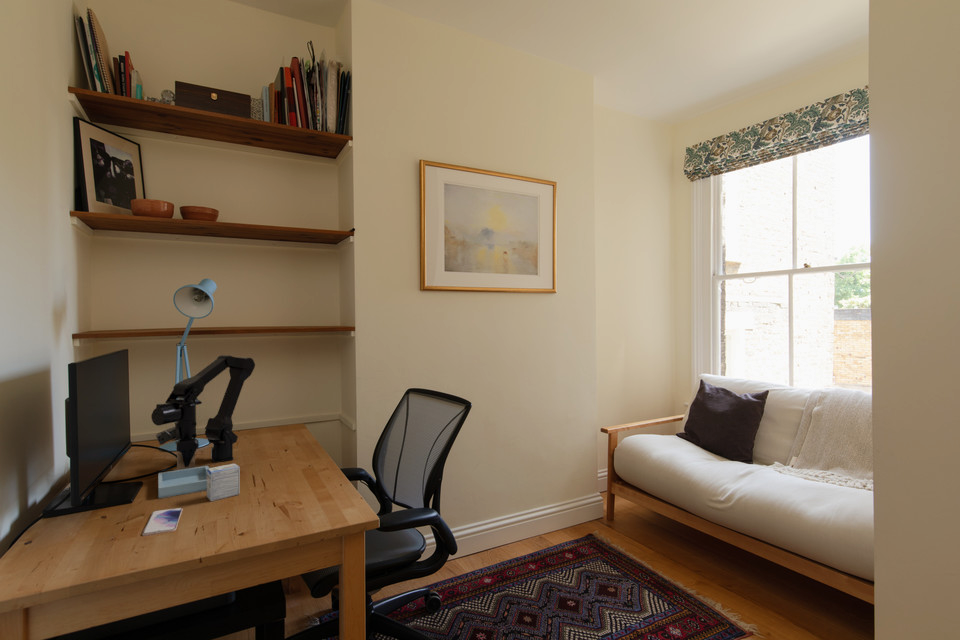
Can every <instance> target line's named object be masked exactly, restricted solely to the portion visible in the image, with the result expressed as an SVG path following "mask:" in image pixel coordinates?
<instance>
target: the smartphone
mask: <svg viewBox="0 0 960 640" xmlns="http://www.w3.org/2000/svg"><path fill="white" fill-rule="evenodd" d="M183 510H184V509H183V507H177V508H168V509H167V508H166V509H160V510H153V512H151V515H150V517H149V519H148V521H147V523H146V525H145V527H144V528H143V531H142V536H143V537H146V536H153V535H160V534H164V533H172V532H174V531H176V530H177V528H178V525H179V522H180V518H181V516H182V513H183Z"/></svg>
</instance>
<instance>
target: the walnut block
mask: <svg viewBox="0 0 960 640" xmlns="http://www.w3.org/2000/svg"><path fill="white" fill-rule="evenodd" d="M176 454H177V455H176V456H177V457H176V458H177V459H176V468H177V469H176V470H182V469H189V468H196V452H195V453H194V455H193V458H192V460H191V462H190V464H189V466H188V467H185V466H184V461H183V457H182V453H181V452H179V451H177V450H176Z"/></svg>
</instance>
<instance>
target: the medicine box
mask: <svg viewBox="0 0 960 640" xmlns="http://www.w3.org/2000/svg"><path fill="white" fill-rule="evenodd" d="M240 469H241V468H240V466H239V465H238V464H236V463H230V464H225V465H219V466H215V467H209V469H207V490H206V498H207V499H208V500H209V501H210V502H213V501H218V500H222V499H225V498H230V497H234V496H238V495H240V490H241V489H240V477H241V475H240V474H241V473H240Z"/></svg>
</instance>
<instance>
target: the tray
mask: <svg viewBox="0 0 960 640" xmlns="http://www.w3.org/2000/svg"><path fill="white" fill-rule="evenodd" d="M209 468H210V467H209V465H202V466H198V467H197V466H195V468H189V469H182V470H177V469H175V470H171V471H170V470H169V471H164V472H158V481H157V482H158V483H157V484H158V487H157V488H158V489H157V490H158V499H163V498H164V499H165V498H169V497H176V496H181V495H187V494H192V493H199V492H205V491H207V469H209Z"/></svg>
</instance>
